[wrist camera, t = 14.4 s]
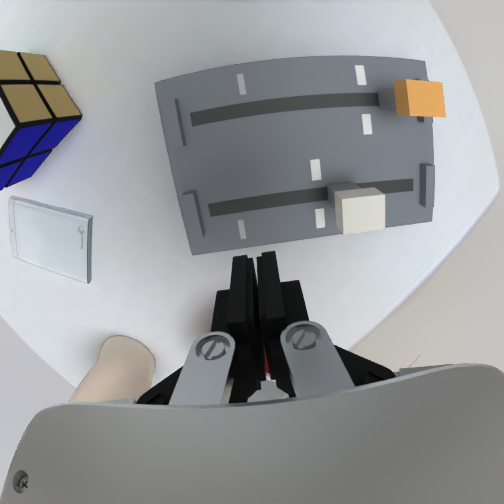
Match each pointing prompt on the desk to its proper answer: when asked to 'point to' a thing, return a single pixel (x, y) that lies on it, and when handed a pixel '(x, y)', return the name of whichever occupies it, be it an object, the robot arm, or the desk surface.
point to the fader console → (291, 147)
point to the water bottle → (117, 372)
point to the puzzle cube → (30, 114)
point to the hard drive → (51, 238)
